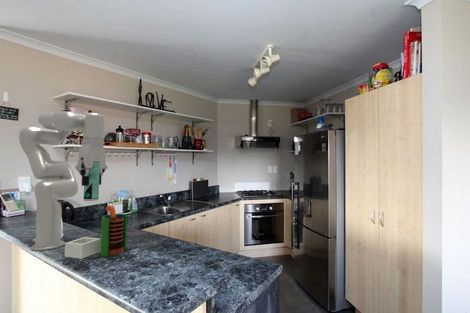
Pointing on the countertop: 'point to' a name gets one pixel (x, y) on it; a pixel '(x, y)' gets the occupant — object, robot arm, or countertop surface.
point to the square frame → (82, 247)
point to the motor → (113, 233)
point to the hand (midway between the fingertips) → (91, 184)
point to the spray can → (93, 182)
